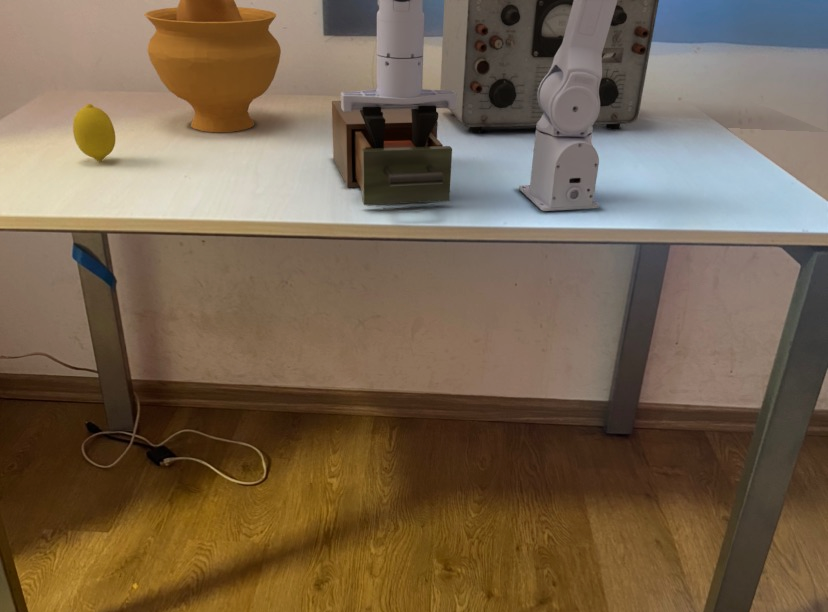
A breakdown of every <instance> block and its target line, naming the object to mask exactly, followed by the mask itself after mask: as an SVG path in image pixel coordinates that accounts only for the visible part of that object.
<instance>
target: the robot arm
mask: <svg viewBox="0 0 828 612" xmlns="http://www.w3.org/2000/svg"><path fill="white" fill-rule="evenodd" d="M423 3H424V0H377V6H378V11H377V12H376V89H368V90H359V91H358V90H357V91H341V92H340V101H341V108H342V110H343V111H344V112H351V111H352V110H360V113H361V115H362V117H363V120H364V122H365V124H366V127H367V130H368V132H369V135H370V138H371V141H372V145H373V149H374V148H384V130H385V119H384V117H383V112H381V110H385V109H411V112H412V143H413V144H414V146H415V147H425V145H426V142H427V140H428V138H429V135H430V133H431V131H432V129H433V128H434V126H435V124H436V123H437V122H438V119H439V111H437V109H447V110H449V109H456V103H457V93H456V92H454V91H453V90H440V89H426V88H423V76H424V43H425V42H424V41H425V39H424V38H425V13H424V11H423V10H424V9H423ZM616 4H617V0H574V1H573V5H572V8H571V12H570V16H569V20H568V23H567V27H566V31H565V35H564V38H563V42H562V44H561V46H560V48H559V49H558V51H557V53H556V55H555V56H554V60H553V63H552V66H551V69H550V71H549V72H548V74H547V75H546V76H545V77H544V78H543V80H542V81H541V83H540V85H539V88H538V94H537V97H538V103H539V106H540V108H541V109H542V111H543V112H544V113H543V115H542V117H541V119H540V120H539V121H538V122H537V125H536V126H535V127H536V128H535V136H534V143H533V144H534V145H533V154H532V163H531V172H530V182H529V184H521V185H519V186H518V190H519V191H520V192H522V193H523V194H524V195H525V196H526V198H528V199H529V200H530V201H531V202H532V203H533V204H534V205H535V206H536V207H538V208H539V209H540V210H541V211H543V212H549V211H550V212H552V211H572V210H589V209H598V208H600V204H599V203H598V202H597V201H595V200H594V198H595V192H596V185H597V179H598V172H599V165H600V158H599V154H598V152H597V150H596V148H595V147H594V145H593V141H592V137H593V130H594V125H595V124H594V122H595V121H596V119H597V117H598V114H599V111H600V98H599V85H600V81H601V78H602V51H603V48H604V45H605V41H606V38H607V34H608V31H609V28H610V24H611V21H612V17H613V14H614V11H615V7H616Z"/></svg>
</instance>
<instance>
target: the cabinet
mask: <svg viewBox="0 0 828 612" xmlns="http://www.w3.org/2000/svg"><path fill="white" fill-rule="evenodd" d="M381 112H383V117H384V119H385V129H387V128H412V112H411V109H385V110H381ZM331 122H332V125H331V126H332V156H333V161H334V163H335V165H336V167H337V169H338V172H339V174H340V175H341V177H342V179H343V182H344V183H345V185H346V187H347V188H360V186H359V184H358V182H357V180H356V178H355V176H354V174H353V164H352V129H367V127H366V124H365V122H364V120H363V117H362V115H361V113H360V110H352V111H351V112H344V111H343V110H342V108H341V100H332V101H331ZM438 125H439V122H438V121H437V123H436V124H435V126H434V128H433V129H432V131H431V133H432V134H433V135H434V136H435V137H436V138H437V139H438Z"/></svg>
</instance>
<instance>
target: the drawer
mask: <svg viewBox="0 0 828 612" xmlns="http://www.w3.org/2000/svg"><path fill="white" fill-rule="evenodd" d="M408 140H410V141H411V142H412V128H387V129H385V130H384V141H408ZM452 159H453V147H451V146H450V145H443V144H442V142H441V141H440V140H439V139H438V137H437V138H436V137H435V136H434V135H433V134H432V133H430V135H429V138H428V140H427V142H426V145H425V147H404V148H374V149H373V145H372V141H371V138H370V135H369V132H368V130H367V129H352V164H353V174H354V176H355V178H356V180H357V182H358V184H359V186H360V187H359V188H360V189H361V195H362V196H361V197H362V204H363V205H364V206H372V205H394V204H395V205H397V204H414V203H434V202H435V203H436V202H437V203H438V202H450V198H451V179H452Z"/></svg>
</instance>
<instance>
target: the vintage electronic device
mask: <svg viewBox="0 0 828 612" xmlns="http://www.w3.org/2000/svg"><path fill="white" fill-rule="evenodd" d="M573 1H574V0H443V19H442V20H443V21H442V23H443V24H442V45H441V69H440V70H441V71H440V89H439V90H453V91H454V92H456V93H457V103H456V109H448V110H449V111H450V112H451V114H452V115H453V116H454V117H456V118H457V119H458V121H460V122H461V123H462V125H464V126H465V127H467V128H468V132H469V133H473V134H479V133H480V134H481V133H483V131H484V128H485V127H486V128H487V127H489V128H490V127H528V126H530V127H532V126H535V127H536V125H537V122H538V121H539V120H540V119H541V117H542V115H543V113H544V112H543V111H542V109H541V108H540V106H539V103H538V97H537V94H538V88H539V85H540V83H541V81H542V80H543V78H544V77H545V76H546V75H547V74H548V72H549V71H550V69H551V66H552V63H553V60H554V56H555V55H556V53H557V51H558V49H559V48H560V46H561V44H562V42H563V38H564V35H565V31H566V27H567V23H568V20H569V16H570V12H571V8H572V5H573ZM659 1H660V0H617V4H616V7H615V11H614V14H613V17H612V21H611V24H610V28H609V31H608V34H607V38H606V41H605V45H604V48H603V51H602V78H601V81H600V85H599V98H600V111H599V114H598V117H597V119H596V121H595V122H594V124H593V125H605V127H606V129H607V130H612V131H615V130H620V128H621V125H623V124H624V125H625V124H626V125H627V124H633V123H635V122H636V121H637V120H638V118H639V115H640V110H641V104H642V98H643V93H644V87H645V81H646V77H647V69H648V63H649V59H650V54H651V47H652V42H653V37H654V36H653V35H654V30H655V25H656V19H657V13H658V7H659V3H660V2H659Z"/></svg>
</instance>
